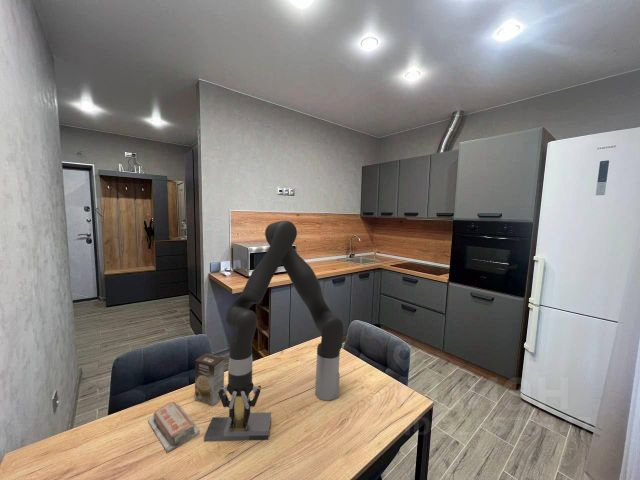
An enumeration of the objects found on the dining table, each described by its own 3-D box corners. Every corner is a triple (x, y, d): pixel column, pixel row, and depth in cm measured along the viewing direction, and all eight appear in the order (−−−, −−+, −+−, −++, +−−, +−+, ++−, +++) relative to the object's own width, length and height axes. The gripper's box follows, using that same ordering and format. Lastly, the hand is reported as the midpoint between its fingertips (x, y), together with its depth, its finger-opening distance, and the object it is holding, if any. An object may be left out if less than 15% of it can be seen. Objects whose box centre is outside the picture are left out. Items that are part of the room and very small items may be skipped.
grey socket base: (271, 420, 92) (271, 412, 91) (268, 439, 84) (268, 430, 83) (212, 421, 90) (212, 413, 90) (203, 441, 82) (204, 432, 82)
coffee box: (193, 400, 100) (193, 359, 99) (206, 390, 106) (206, 352, 105) (213, 406, 97) (213, 365, 96) (224, 395, 103) (225, 356, 102)
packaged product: (200, 421, 85) (167, 440, 77) (200, 435, 85) (167, 455, 77) (178, 394, 96) (147, 409, 89) (178, 407, 97) (147, 422, 89)
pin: (246, 422, 89) (247, 389, 88) (244, 432, 85) (245, 397, 84) (235, 422, 89) (235, 389, 88) (231, 432, 85) (232, 397, 84)
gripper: (264, 361, 89) (263, 408, 91) (221, 361, 88) (221, 409, 90) (260, 374, 82) (259, 425, 83) (214, 374, 81) (213, 426, 82)
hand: (239, 416), depth 87 cm, fingers closed on pin, 4 cm apart
